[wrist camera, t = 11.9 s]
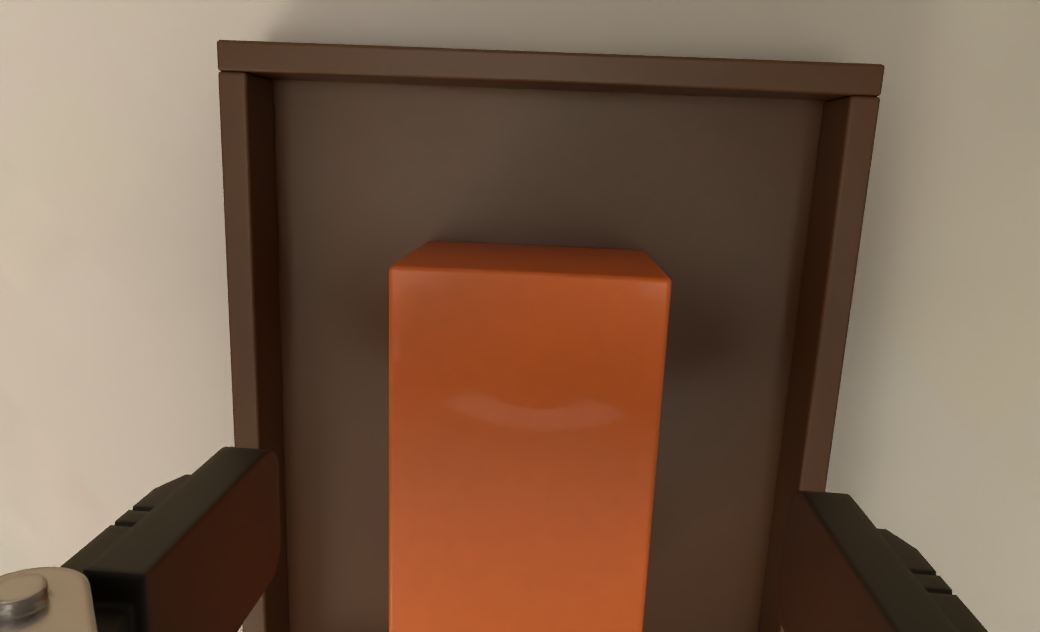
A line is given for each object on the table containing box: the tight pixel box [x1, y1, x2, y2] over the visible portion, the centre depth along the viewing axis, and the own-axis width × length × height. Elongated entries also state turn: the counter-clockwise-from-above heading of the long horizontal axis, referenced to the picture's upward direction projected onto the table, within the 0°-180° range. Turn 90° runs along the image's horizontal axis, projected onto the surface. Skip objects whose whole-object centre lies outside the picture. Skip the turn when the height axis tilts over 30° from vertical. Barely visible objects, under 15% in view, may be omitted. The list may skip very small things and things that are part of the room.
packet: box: [389, 241, 672, 632], centre depth 16 cm, size 8×5×4 cm, turn 178°
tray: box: [217, 40, 884, 632], centre depth 17 cm, size 16×13×2 cm
